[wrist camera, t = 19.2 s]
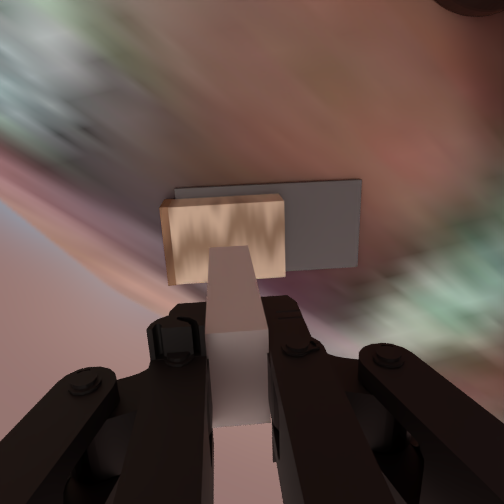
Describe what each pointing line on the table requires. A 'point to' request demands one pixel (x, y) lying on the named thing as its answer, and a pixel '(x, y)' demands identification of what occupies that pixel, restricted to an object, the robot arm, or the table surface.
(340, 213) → the mat
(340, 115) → the table surface
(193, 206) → the slab
